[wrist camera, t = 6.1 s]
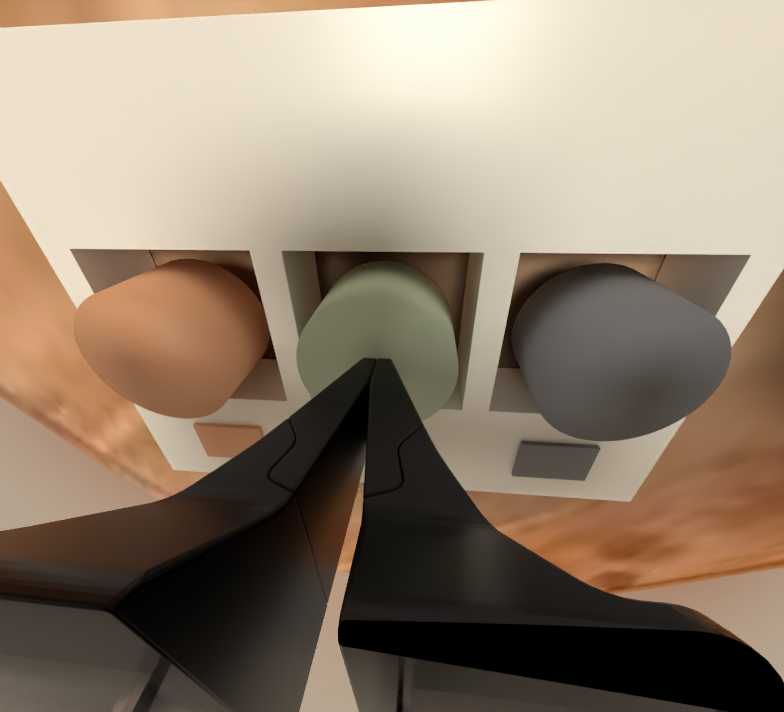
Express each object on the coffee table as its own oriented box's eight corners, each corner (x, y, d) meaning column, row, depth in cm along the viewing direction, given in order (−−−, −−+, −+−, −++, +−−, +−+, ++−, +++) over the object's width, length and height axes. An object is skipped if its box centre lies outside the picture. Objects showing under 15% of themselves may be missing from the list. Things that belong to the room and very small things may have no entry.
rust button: (252, 259, 11) (201, 291, 8) (280, 372, 14) (248, 422, 11) (124, 257, 11) (39, 287, 9) (175, 367, 14) (120, 415, 11)
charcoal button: (686, 264, 10) (775, 302, 7) (626, 386, 12) (677, 445, 10) (526, 262, 10) (559, 298, 8) (501, 381, 13) (519, 436, 10)
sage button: (457, 261, 10) (467, 296, 8) (446, 378, 13) (451, 433, 10) (314, 260, 11) (281, 292, 8) (331, 374, 13) (309, 425, 11)
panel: (808, 28, 8) (995, -33, 6) (599, 449, 17) (632, 505, 14) (41, 62, 10) (-100, 30, 7) (207, 427, 19) (170, 473, 16)
